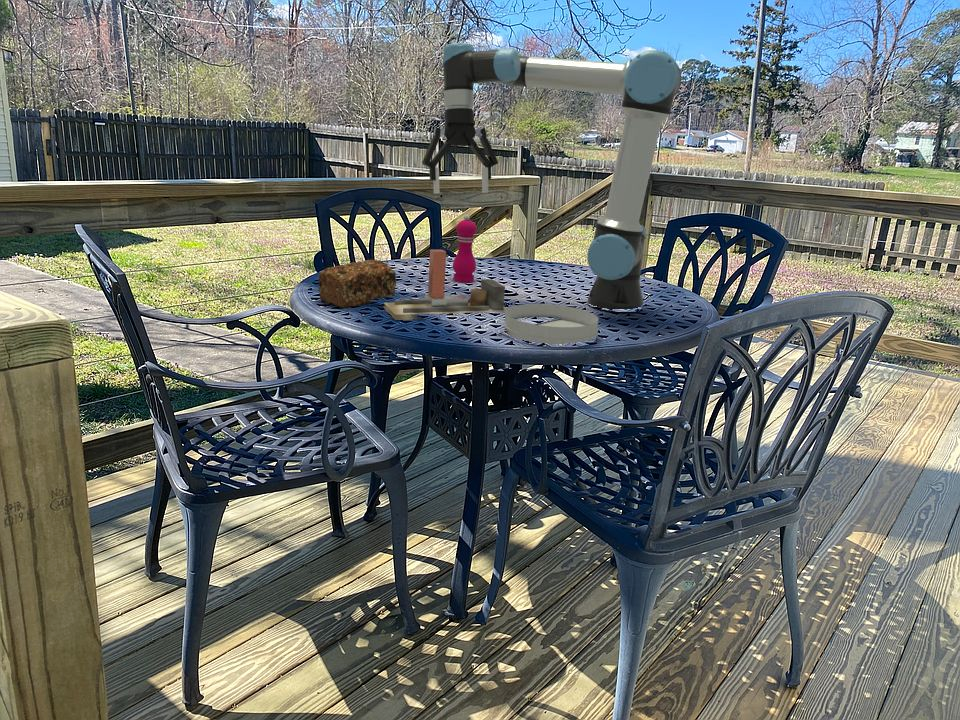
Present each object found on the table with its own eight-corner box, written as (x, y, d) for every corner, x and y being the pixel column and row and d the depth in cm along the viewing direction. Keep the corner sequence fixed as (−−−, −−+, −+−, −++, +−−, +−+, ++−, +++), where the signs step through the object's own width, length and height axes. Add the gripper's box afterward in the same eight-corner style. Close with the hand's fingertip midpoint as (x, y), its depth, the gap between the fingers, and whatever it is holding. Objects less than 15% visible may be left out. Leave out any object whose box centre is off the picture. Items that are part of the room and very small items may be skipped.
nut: (487, 305, 190) (488, 289, 189) (483, 308, 187) (484, 293, 185) (472, 302, 191) (473, 288, 190) (468, 306, 188) (468, 291, 186)
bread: (371, 292, 204) (372, 256, 201) (397, 299, 198) (398, 263, 195) (316, 301, 190) (316, 263, 187) (342, 309, 184) (343, 270, 181)
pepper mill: (474, 283, 223) (478, 217, 217) (451, 282, 223) (454, 215, 217) (475, 279, 230) (479, 214, 224) (452, 277, 230) (455, 212, 224)
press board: (493, 305, 197) (495, 278, 195) (510, 316, 187) (512, 287, 184) (383, 308, 187) (384, 279, 184) (395, 320, 176) (395, 290, 174)
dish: (497, 343, 164) (499, 321, 162) (507, 319, 185) (509, 300, 183) (597, 353, 161) (600, 331, 160) (596, 328, 182) (598, 308, 181)
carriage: (461, 302, 190) (464, 248, 186) (469, 308, 185) (472, 252, 181) (424, 303, 187) (426, 248, 183) (431, 309, 182) (433, 252, 177)
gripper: (498, 111, 198) (499, 192, 202) (408, 109, 189) (411, 194, 194) (509, 108, 191) (510, 192, 195) (416, 105, 182) (419, 193, 187)
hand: (461, 193), depth 194 cm, fingers open, 13 cm apart
